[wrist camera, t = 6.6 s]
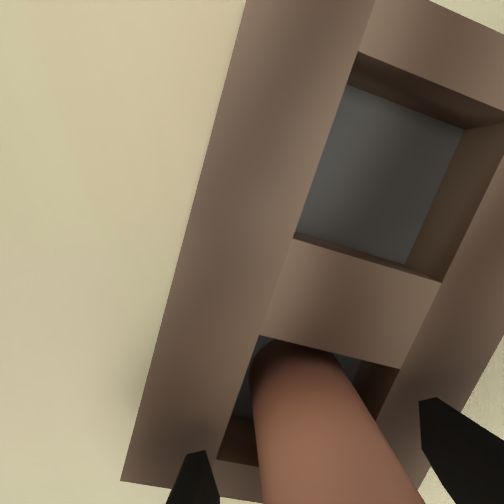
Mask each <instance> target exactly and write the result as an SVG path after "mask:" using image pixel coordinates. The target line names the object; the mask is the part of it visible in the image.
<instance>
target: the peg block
mask: <svg viewBox="0 0 504 504" xmlns="http://www.w3.org/2000/svg"><path fill="white" fill-rule="evenodd" d="M503 335H504V34H501V33H499V32H497V31H495V30H493V29H490V28H488V27H486V26H484V25H482V24H479V23H477V22H475V21H473V20H471V19H468V18H466V17H464V16H462V15H460V14H458V13H455V12H453V11H451V10H449V9H447V8H444V7H442V6H440V5H438V4H436V3H433V2H431V1H429V0H246V4H245V8H244V12H243V16H242V19H241V23H240V27H239V31H238V35H237V38H236V42H235V46H234V50H233V54H232V57H231V61H230V65H229V69H228V73H227V76H226V80H225V84H224V88H223V92H222V95H221V99H220V103H219V107H218V111H217V114H216V118H215V122H214V126H213V130H212V133H211V137H210V141H209V145H208V149H207V152H206V156H205V160H204V164H203V168H202V171H201V175H200V179H199V183H198V186H197V190H196V194H195V198H194V202H193V205H192V209H191V213H190V217H189V221H188V224H187V228H186V232H185V236H184V240H183V243H182V247H181V251H180V255H179V259H178V262H177V266H176V270H175V274H174V278H173V281H172V285H171V289H170V293H169V297H168V300H167V304H166V308H165V312H164V316H163V319H162V323H161V327H160V331H159V335H158V338H157V342H156V346H155V350H154V354H153V357H152V361H151V365H150V369H149V373H148V376H147V380H146V384H145V388H144V392H143V395H142V399H141V403H140V407H139V411H138V414H137V418H136V422H135V426H134V430H133V433H132V437H131V441H130V445H129V448H128V452H127V456H126V460H125V464H124V467H123V471H122V475H121V479H120V481H124V482H131V483H137V484H143V485H150V486H156V487H162V488H169V489H172V488H173V485H174V483H175V481H176V478H177V476H178V473H179V471H180V468H181V466H182V463H183V461H184V458H185V456H186V455H187V454H190V453H194V452H198V451H203V450H206V453H207V456H208V460H209V463H210V466H211V469H212V473H213V476H214V479H215V482H216V486H217V489H218V492H219V495H220V497H226V498H232V499H238V500H245V501H251V502H257V503H263V496H262V487H261V478H260V470H259V461H258V453H257V444H256V435H255V427H254V418H253V410H252V401H251V392H250V384H249V371H250V367H251V364H252V361H253V359H254V358H255V356H256V355H257V353H258V352H259V351H260V350H261V349H262V348H263V347H264V346H265V345H266V344H268V343H269V342H271V341H273V340H275V339H279V340H283V341H287V342H291V343H295V344H299V345H303V346H308V347H312V348H316V349H320V350H324V351H328V352H332V353H333V354H334V356H335V357H336V359H337V360H338V362H339V364H340V365H341V367H342V369H343V370H344V372H345V373H346V375H347V377H348V378H349V380H350V382H351V383H352V385H353V386H354V388H355V390H356V391H357V393H358V395H359V396H360V398H361V400H362V401H363V403H364V404H365V406H366V408H367V409H368V411H369V413H370V414H371V416H372V417H373V419H374V421H375V422H376V424H377V426H378V427H379V429H380V430H381V432H382V434H383V435H384V437H385V439H386V440H387V442H388V443H389V445H390V447H391V448H392V450H393V452H394V453H395V455H396V456H397V458H398V460H399V461H400V463H401V465H402V466H403V468H404V469H405V471H406V473H407V474H408V476H409V478H410V479H411V481H412V482H413V484H414V486H415V487H416V489H417V490H418V488H419V486H420V485H421V483H422V481H423V479H424V477H425V476H426V474H427V472H428V470H429V468H430V467H431V465H430V463H429V461H428V459H427V458H426V456H425V454H424V452H423V451H422V449H421V433H420V417H419V401H421V400H425V399H430V398H434V397H437V398H439V399H440V400H442V401H443V402H445V403H446V404H448V405H449V406H451V407H452V408H454V409H456V410H457V411H459V412H460V413H461V411H462V409H463V407H464V405H465V404H466V402H467V400H468V398H469V396H470V395H471V393H472V391H473V389H474V387H475V386H476V384H477V382H478V380H479V378H480V377H481V375H482V373H483V371H484V369H485V368H486V366H487V364H488V362H489V360H490V359H491V357H492V355H493V353H494V351H495V350H496V348H497V346H498V344H499V342H500V341H501V339H502V337H503Z"/></svg>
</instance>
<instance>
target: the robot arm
mask: <svg viewBox="0 0 504 504" xmlns="http://www.w3.org/2000/svg"><path fill="white" fill-rule="evenodd" d="M419 417H420V433H421V449H422V451H423V452H424V454H425V456H426V458H427V459H428V461H429V463H430V465H431V466H432V468H433V470H434V471H435V473H436V475H437V476H438V478H439V480H440V481H441V483H442V485H443V486H444V488H445V489H446V491H447V492H448V493H449V495H450V496H451V498H452V499H453V500H454V502H455V503H456V504H504V440H502V439H500V438H499V437H497V436H496V435H494V434H492V433H491V432H489V431H488V430H486V429H485V428H483V427H482V426H480V425H478V424H477V423H475V422H474V421H472V420H471V419H469V418H468V417H466V416H465V415H463V414H462V413H460V412H459V411H457V410H456V409H454V408H452V407H451V406H449V405H448V404H446V403H445V402H443V401H442V400H440V399H439V398H437V397H434V398H430V399H425V400H421V401H419ZM166 504H220V495H219V492H218V489H217V486H216V482H215V479H214V476H213V473H212V469H211V466H210V463H209V460H208V456H207V453H206V450H203V451H198V452H194V453H190V454H187V455H186V456H185V458H184V461H183V463H182V466H181V468H180V471H179V473H178V476H177V478H176V481H175V483H174V485H173V488H172V490H171V492H170V495H169V497H168V499H167V502H166Z"/></svg>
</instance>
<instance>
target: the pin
mask: <svg viewBox="0 0 504 504" xmlns="http://www.w3.org/2000/svg"><path fill="white" fill-rule="evenodd" d="M249 384H250V392H251V401H252V410H253V418H254V427H255V435H256V444H257V453H258V461H259V470H260V478H261V487H262V496H263V504H425V502H424V500H423V499H422V497H421V495H420V494H419V492H418V491H417V489H416V487H415V486H414V484H413V482H412V481H411V479H410V478H409V476H408V474H407V473H406V471H405V469H404V468H403V466H402V465H401V463H400V461H399V460H398V458H397V456H396V455H395V453H394V452H393V450H392V448H391V447H390V445H389V443H388V442H387V440H386V439H385V437H384V435H383V434H382V432H381V430H380V429H379V427H378V426H377V424H376V422H375V421H374V419H373V417H372V416H371V414H370V413H369V411H368V409H367V408H366V406H365V404H364V403H363V401H362V400H361V398H360V396H359V395H358V393H357V391H356V390H355V388H354V386H353V385H352V383H351V382H350V380H349V378H348V377H347V375H346V373H345V372H344V370H343V369H342V367H341V365H340V364H339V362H338V360H337V359H336V357H335V356H334V354H333V353H332V352H328V351H324V350H320V349H316V348H312V347H308V346H303V345H299V344H295V343H291V342H287V341H283V340H279V339H275V340H273V341H271V342H269V343H268V344H266V345H265V346H264V347H263V348H262V349H261V350H260V351H259V352H258V353H257V355H256V356H255V358H254V359H253V361H252V364H251V367H250V371H249Z"/></svg>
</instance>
